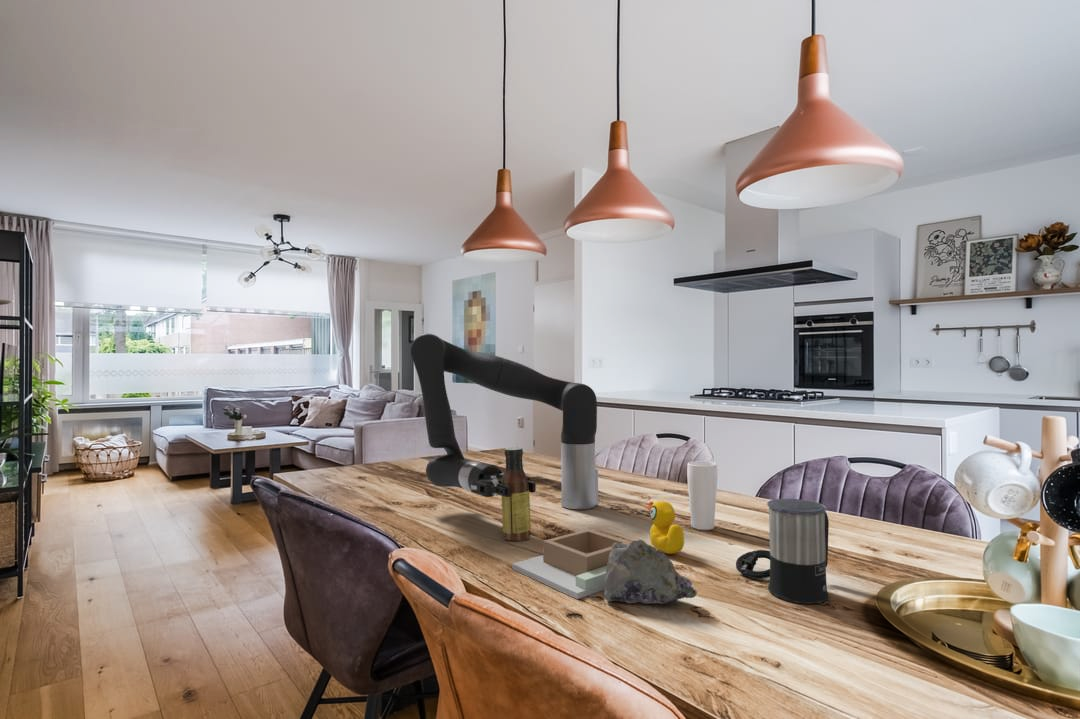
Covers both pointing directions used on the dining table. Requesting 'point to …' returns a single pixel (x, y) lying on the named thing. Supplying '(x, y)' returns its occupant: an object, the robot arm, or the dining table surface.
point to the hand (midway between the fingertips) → (522, 489)
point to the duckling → (665, 528)
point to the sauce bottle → (515, 498)
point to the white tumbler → (702, 493)
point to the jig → (572, 563)
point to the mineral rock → (643, 576)
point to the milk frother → (794, 551)
